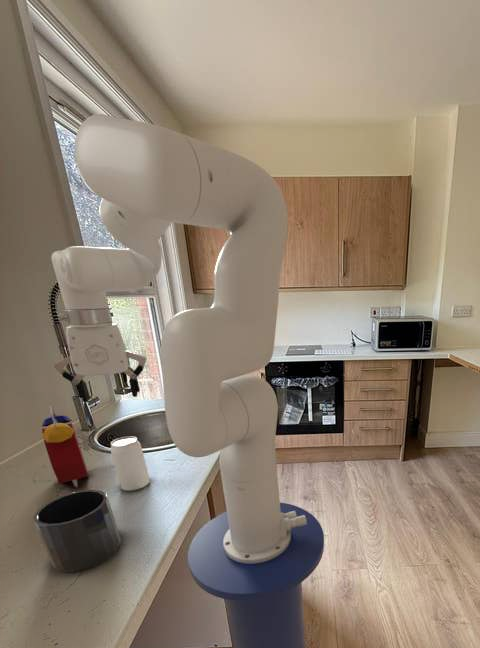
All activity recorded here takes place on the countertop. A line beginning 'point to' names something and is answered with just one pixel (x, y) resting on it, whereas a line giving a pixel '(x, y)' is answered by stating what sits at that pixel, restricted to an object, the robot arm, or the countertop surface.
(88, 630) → the countertop surface
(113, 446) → the can
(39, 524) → the open gray tub
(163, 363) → the robot arm
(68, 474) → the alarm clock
